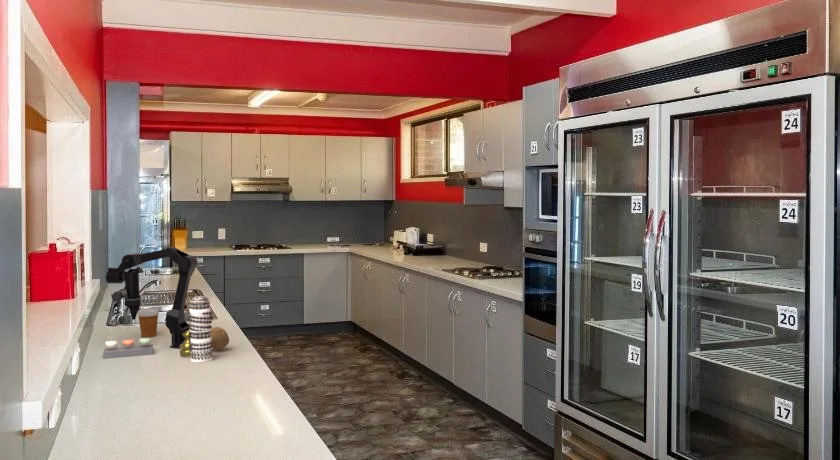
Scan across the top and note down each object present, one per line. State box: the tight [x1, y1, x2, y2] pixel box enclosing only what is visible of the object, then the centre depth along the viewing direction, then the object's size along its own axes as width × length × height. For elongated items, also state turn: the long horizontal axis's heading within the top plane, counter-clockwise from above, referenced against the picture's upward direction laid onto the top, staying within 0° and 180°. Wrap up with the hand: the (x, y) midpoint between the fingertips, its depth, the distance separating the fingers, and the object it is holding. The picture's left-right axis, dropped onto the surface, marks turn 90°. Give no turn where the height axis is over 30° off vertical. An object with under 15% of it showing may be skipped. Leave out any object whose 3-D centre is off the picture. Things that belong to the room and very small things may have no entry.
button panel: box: [102, 343, 155, 360], centre depth 314 cm, size 19×9×2 cm, turn 110°
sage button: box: [138, 337, 152, 345], centre depth 316 cm, size 4×4×2 cm
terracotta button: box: [121, 338, 135, 347], centre depth 314 cm, size 4×4×2 cm
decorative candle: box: [187, 295, 214, 363], centre depth 302 cm, size 9×9×25 cm
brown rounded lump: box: [211, 326, 230, 352], centre depth 318 cm, size 9×9×10 cm
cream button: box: [104, 339, 118, 348], centre depth 311 cm, size 4×4×2 cm
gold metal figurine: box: [179, 330, 192, 358], centre depth 310 cm, size 7×7×10 cm
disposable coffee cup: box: [136, 308, 160, 338], centre depth 350 cm, size 10×10×12 cm
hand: (133, 319), depth 328 cm, fingers closed
